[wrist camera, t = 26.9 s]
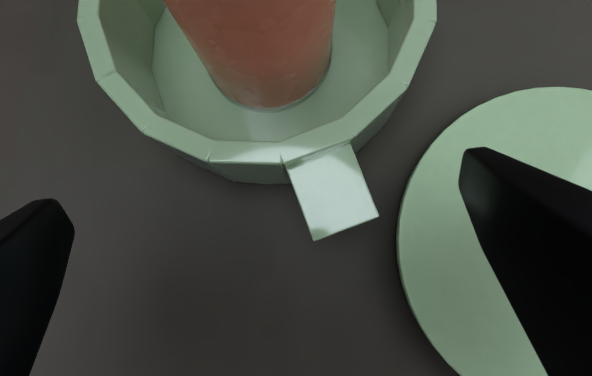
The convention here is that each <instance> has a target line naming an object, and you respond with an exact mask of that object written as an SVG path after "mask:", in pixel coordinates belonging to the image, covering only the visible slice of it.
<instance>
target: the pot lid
mask: <svg viewBox="0 0 592 376" xmlns="http://www.w3.org/2000/svg"><path fill="white" fill-rule="evenodd" d="M476 147H488V148H490V149H493V150H495V151H497V152H500V153H502V154H505V155H507V156H509V157H512V158H514V159H517V160H519V161H521V162H524V163H526V164H529V165H531V166H533V167H536V168H538V169H541V170H543V171H545V172H548V173H550V174H553V175H555V176H557V177H560V178H562V179H565V180H567V181H569V182H572V183H574V184H577V185H579V186H581V187H584V188H586V189H589V190H591V191H592V91H590V90H585V89H580V88H568V87H542V88H533V89H527V90H521V91H516V92H512V93H509V94H506V95H502V96H499V97H496V98H494V99H492V100H489V101H487V102H485V103H483V104H480V105H478V106H477V107H475V108H473V109H472V110H470V111H469V112H467V113H465V114H464V115H462V116H461V117H459V118H458V119H457V120H456V121H454V122H453V123H452V124H451V125H450V126H448V127H447V128H446V129H445V130H444V131H442V132H441V133H440V135H439V136H438V137H437V138H436V139H435V140H434V141H433V142H432V143H431V144H430V145H429V147H428V148H427V149H426V151H425V152H424V154H423V155H422V157H421V158H420V159H419V161H418V162H417V164H416V166H415V168H414V170H413V172H412V174H411V176H410V178H409V180H408V182H407V185H406V188H405V191H404V194H403V197H402V200H401V204H400V209H399V214H398V219H397V232H396V249H397V263H398V268H399V273H400V278H401V283H402V286H403V289H404V292H405V295H406V298H407V301H408V304H409V306H410V308H411V311H412V313H413V315H414V317H415V319H416V321H417V323H418V325H419V326H420V328H421V330H422V331H423V333H424V334H425V336H426V337H427V339H428V341H429V342H430V344H431V345H432V346H433V347H434V348H435V350H436V351H437V352H438V353H439V355H440V356H441V357H442V358H443V359H444V361H445V362H446V363H448V364H449V365H450V366H451V367H452V368H453V369H454V370H455V371H456V372H457V373H458V374H459V375H460V376H548V375H547V373H546V371H545V369H544V367H543V366H542V364H541V362H540V360H539V358H538V356H537V354H536V352H535V350H534V348H533V346H532V344H531V343H530V341H529V339H528V337H527V335H526V333H525V331H524V329H523V327H522V325H521V323H520V322H519V320H518V318H517V316H516V314H515V312H514V310H513V308H512V306H511V304H510V302H509V300H508V299H507V297H506V295H505V293H504V291H503V289H502V287H501V285H500V283H499V281H498V279H497V278H496V276H495V274H494V272H493V270H492V268H491V266H490V264H489V262H488V260H487V258H486V256H485V254H484V252H483V250H482V248H481V246H480V244H479V241H478V239H477V236H476V233H475V231H474V228H473V225H472V223H471V220H470V217H469V215H468V212H467V209H466V207H465V204H464V201H463V199H462V196H461V193H460V190H459V186H458V179H459V173H460V168H461V162H462V157H463V153H464V151H465V150H466V149H468V148H476Z"/></svg>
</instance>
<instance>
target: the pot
mask: <svg viewBox="0 0 592 376" xmlns="http://www.w3.org/2000/svg"><path fill="white" fill-rule="evenodd" d="M77 18H78V19H77V23H78V26H79V29H80V32H81V36H82V39H83V42H84V45H85V48H86V51H87V55H88V58H89V61H90V64H91V67H92V71H93V74H94V77H95V80H96V82H97V83H98V85H99V86H100V87H101V88H102V89H103V90H104V91H105V93H106V94H107V95H108V96H109V97H110V98H111V99H112V100H113V101H114V103H115V104H116V105H117V106H118V107H119V108H120V109H121V110H122V111H123V113H124V114H125V115H126V116H127V117H128V118H129V119H130V120H131V122H132V123H133V124H134V125H135V126H136V127H137V128H138V129H139V130H140V132H142V133H144V134H145V135H146V136H148V137H149V138H151V139H153V140H154V141H156V142H158V143H159V144H161V145H162V146H164V147H166V148H167V149H169V150H171V151H172V152H174V153H176V154H177V155H179V156H180V157H182V158H184V159H185V160H187V161H189V162H191V163H194V164H196V165H198V166H200V167H202V168H205V169H207V170H209V171H210V172H212V173H215V174H218V175H220V176H222V177H224V178H227V179H229V180H231V181H235V182H245V183H255V184H289V183H292V186H293V189H294V191H295V194H296V197H297V199H298V202H299V205H300V207H301V210H302V213H303V215H304V218H305V221H306V223H307V226H308V229H309V231H310V234H311V237H312V239H313V241H317V240H320V239H322V238H325V237H328V236H330V235H333V234H336V233H338V232H341V231H343V230H346V229H349V228H351V227H354V226H357V225H359V224H362V223H365V222H367V221H370V220H373V219H375V218H378V217H379V213H378V211H377V209H376V206H375V204H374V201H373V199H372V196H371V194H370V191H369V189H368V186H367V184H366V181H365V179H364V176H363V174H362V171H361V169H360V166H359V164H358V161H357V159H356V157H355V153H356V152H357V151H359V150H360V149H361V148H362V147H363V146H364V145H365V144H366V143H367V142H368V141H369V140H370V139H371V138H372V137H373V136H374V135H375V134H376V133H377V132H378V131H379V130H380V129H381V128H382V127H383V126H384V124H385V123H386V122H387V120H388V118H389V117H390V115H391V114H392V112H393V110H394V109H395V107H396V106H397V104H398V103H399V101H400V99H401V98H402V96H403V95H404V93H405V91H406V90H407V88H408V87H409V85H410V83H411V80H412V78H413V76H414V74H415V71H416V69H417V67H418V64H419V62H420V60H421V58H422V55H423V53H424V51H425V49H426V46H427V44H428V42H429V39H430V37H431V35H432V33H433V30H434V28H435V24H436V22H437V0H336V4H335V15H334V25H333V36H332V58H331V63H330V67H329V70H328V73H327V75H326V77H325V79H324V81H323V82H322V84H321V85H320V87H319V88H318V89H317V90H316V91H315V92H314V94H313V95H311V96H310V97H309V98H308V99H307V100H305V101H304V102H302V103H300V104H299V105H297V106H294V107H292V108H290V109H287V110H283V111H278V112H268V113H266V112H256V111H251V110H248V109H245V108H242V107H240V106H238V105H236V104H234V103H233V102H231V101H230V100H228V99H227V98H226V97H225V96H224V95H222V93H221V92H220V91H219V90H218V89H217V87H216V86H215V84H214V83H213V81H212V80H211V78H210V76H209V74H208V71H207V70H206V68H205V67H204V65H203V63H202V62H201V60H200V59H199V57H198V55H197V54H196V52H195V51H194V49H193V48H192V46H191V44H190V43H189V41H188V40H187V38H186V37H185V35H184V33H183V32H182V30H181V29H180V27H179V26H178V24H177V22H176V21H175V19H174V18H173V16H172V15H171V13H170V11H169V10H168V8H167V7H166V5H165V3H164V2H163V0H79V4H78V13H77Z"/></svg>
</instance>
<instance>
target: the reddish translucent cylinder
mask: <svg viewBox="0 0 592 376" xmlns="http://www.w3.org/2000/svg"><path fill="white" fill-rule="evenodd" d="M163 2H164V3H165V5H166V7H167V8H168V10H169V11H170V13H171V15H172V16H173V18H174V19H175V21H176V22H177V24H178V26H179V27H180V29H181V30H182V32H183V33H184V35H185V37H186V38H187V40H188V41H189V43H190V44H191V46H192V48H193V49H194V51H195V52H196V54H197V55H198V57H199V59H200V60H201V62H202V63H203V65H204V67H205V68H206V70H207V71H208V74H209V76H210V78H211V80H212V81H213V83H214V84H215V86H216V87H217V89H218V90H219V91H220V92H221V93H222V95H224V96H225V97H226V98H227V99H228V100H230V101H231V102H233V103H234V104H236V105H238V106H240V107H242V108H245V109H248V110H251V111H256V112H266V113H268V112H278V111H283V110H287V109H290V108H292V107H294V106H297V105H299V104H300V103H302V102H304V101H305V100H307V99H308V98H309V97H310V96H311V95H313V94H314V92H315V91H316V90H317V89H318V88H319V87H320V85H321V84H322V82H323V81H324V79H325V77H326V75H327V73H328V70H329V67H330V63H331V58H332V36H333V25H334V15H335V4H336V0H163Z"/></svg>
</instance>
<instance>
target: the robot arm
mask: <svg viewBox="0 0 592 376" xmlns="http://www.w3.org/2000/svg"><path fill="white" fill-rule="evenodd" d="M458 186H459V190H460V193H461V196H462V199H463V201H464V204H465V207H466V209H467V212H468V215H469V217H470V220H471V223H472V225H473V228H474V231H475V233H476V236H477V239H478V241H479V244H480V246H481V248H482V250H483V252H484V254H485V256H486V258H487V260H488V262H489V264H490V266H491V268H492V270H493V272H494V274H495V276H496V278H497V279H498V281H499V283H500V285H501V287H502V289H503V291H504V293H505V295H506V297H507V299H508V300H509V302H510V304H511V306H512V308H513V310H514V312H515V314H516V316H517V318H518V320H519V322H520V323H521V325H522V327H523V329H524V331H525V333H526V335H527V337H528V339H529V341H530V343H531V344H532V346H533V348H534V350H535V352H536V354H537V356H538V358H539V360H540V362H541V364H542V366H543V367H544V369H545V371H546V373H547V375H548V376H592V191H591V190H589V189H586V188H584V187H581V186H579V185H577V184H574V183H572V182H569V181H567V180H565V179H562V178H560V177H557V176H555V175H553V174H550V173H548V172H545V171H543V170H541V169H538V168H536V167H533V166H531V165H529V164H526V163H524V162H521V161H519V160H517V159H514V158H512V157H509V156H507V155H505V154H502V153H500V152H497V151H495V150H493V149H490V148H488V147H476V148H468V149H466V150H465V151H464V153H463V157H462V162H461V168H460V173H459V179H458ZM74 235H75V230H74V226H73V224H72V222H71V221H70V219H69V217H68V216H67V214H66V213H65V211H64V209H63V208H62V206H61V205H60V203H59V202H58V201H57V200H55V199H52V198H49V199H41V200H35V201H32V202H30V203H29V204H27V205H25V206H24V207H22V208H20V209H19V210H17V211H15V212H13V213H12V214H10V215H8V216H7V217H5V218H3V219H2V220H0V376H29V375H30V372H31V369H32V367H33V364H34V361H35V359H36V356H37V353H38V351H39V348H40V345H41V343H42V340H43V337H44V335H45V332H46V329H47V327H48V324H49V321H50V319H51V316H52V314H53V311H54V308H55V306H56V303H57V300H58V297H59V294H60V290H61V287H62V283H63V279H64V275H65V271H66V267H67V263H68V259H69V255H70V252H71V248H72V244H73V240H74Z"/></svg>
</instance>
